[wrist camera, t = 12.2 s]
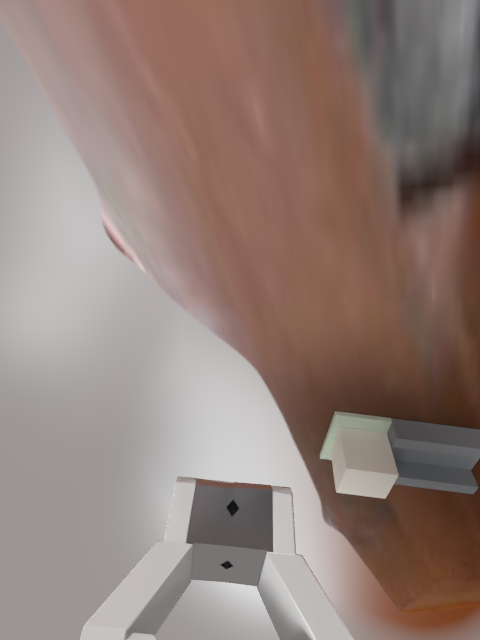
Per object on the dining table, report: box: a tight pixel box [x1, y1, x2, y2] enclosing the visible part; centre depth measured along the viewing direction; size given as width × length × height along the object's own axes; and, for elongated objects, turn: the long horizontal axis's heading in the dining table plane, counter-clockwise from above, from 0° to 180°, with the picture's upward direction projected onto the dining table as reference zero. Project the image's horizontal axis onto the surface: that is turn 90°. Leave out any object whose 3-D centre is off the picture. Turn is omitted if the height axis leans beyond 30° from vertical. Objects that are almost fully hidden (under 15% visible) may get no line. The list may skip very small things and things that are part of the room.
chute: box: [320, 411, 480, 494], centre depth 52 cm, size 20×9×3 cm, turn 84°
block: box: [331, 427, 399, 499], centre depth 50 cm, size 6×5×6 cm
